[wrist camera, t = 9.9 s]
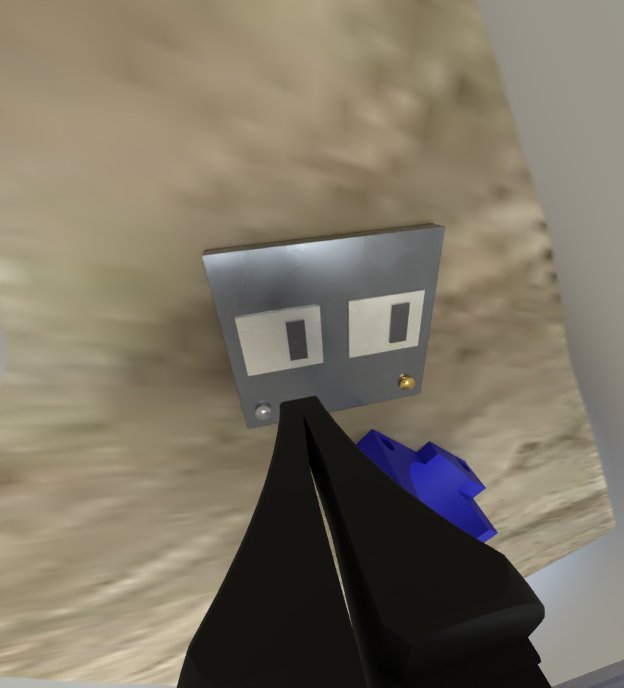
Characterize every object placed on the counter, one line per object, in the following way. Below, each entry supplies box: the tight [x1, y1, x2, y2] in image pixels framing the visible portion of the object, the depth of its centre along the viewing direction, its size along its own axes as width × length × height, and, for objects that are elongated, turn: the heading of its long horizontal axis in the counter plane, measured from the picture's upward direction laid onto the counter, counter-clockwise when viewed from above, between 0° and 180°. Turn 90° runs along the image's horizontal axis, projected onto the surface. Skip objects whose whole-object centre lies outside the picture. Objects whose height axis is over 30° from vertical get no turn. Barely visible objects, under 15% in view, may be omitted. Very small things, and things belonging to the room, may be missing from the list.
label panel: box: [202, 224, 445, 429], centre depth 17 cm, size 11×12×2 cm
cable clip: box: [356, 429, 498, 543], centre depth 23 cm, size 12×4×6 cm, turn 51°
